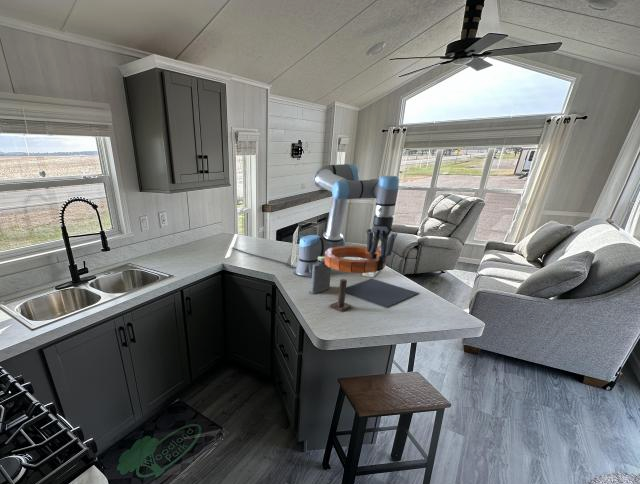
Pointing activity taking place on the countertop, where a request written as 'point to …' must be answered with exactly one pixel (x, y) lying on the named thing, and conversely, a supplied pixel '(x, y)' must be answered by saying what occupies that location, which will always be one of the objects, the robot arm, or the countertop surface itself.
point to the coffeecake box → (370, 274)
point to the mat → (380, 292)
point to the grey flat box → (320, 277)
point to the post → (341, 297)
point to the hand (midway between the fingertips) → (375, 269)
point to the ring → (349, 265)
